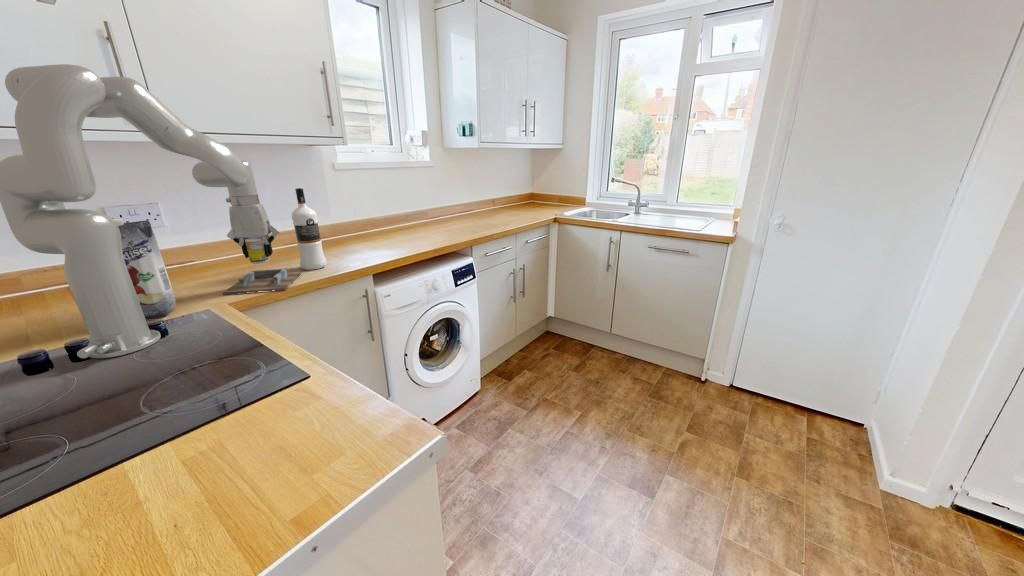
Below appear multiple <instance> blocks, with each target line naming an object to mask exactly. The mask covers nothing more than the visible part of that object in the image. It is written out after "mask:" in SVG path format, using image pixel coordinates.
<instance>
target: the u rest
mask: <svg viewBox="0 0 1024 576" xmlns="http://www.w3.org/2000/svg"><path fill="white" fill-rule="evenodd" d="M301 274H302V271H297V272H296V271H294V272H289V271H288V268H276V269H261V270H259V269H257V270H251V271H249V272H247V273H246V274H245V275H244V276H242V277H240V278H239V279H238V281H237V282H236V283H234V284H233V285H232V286H230V287H228V288H227V289H225V290H224V291H222V295H223V296H231V295H232V294H235V295H239V294H238V293H247V292H258V291H272V290H275V291H274V292H284V291H286V290H288V288H289V287H290V286H289V285H290V284H291V283H292V282H293V281H295V280H296V279H297V278H298V277H299V276H300V275H301ZM302 275H303V274H302ZM302 275H301V276H302ZM301 276H300V277H301ZM300 277H299V278H300ZM299 278H298V279H299ZM298 279H297V280H298ZM297 280H296V281H297ZM296 281H295V282H296ZM288 286H289V287H288Z"/></svg>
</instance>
